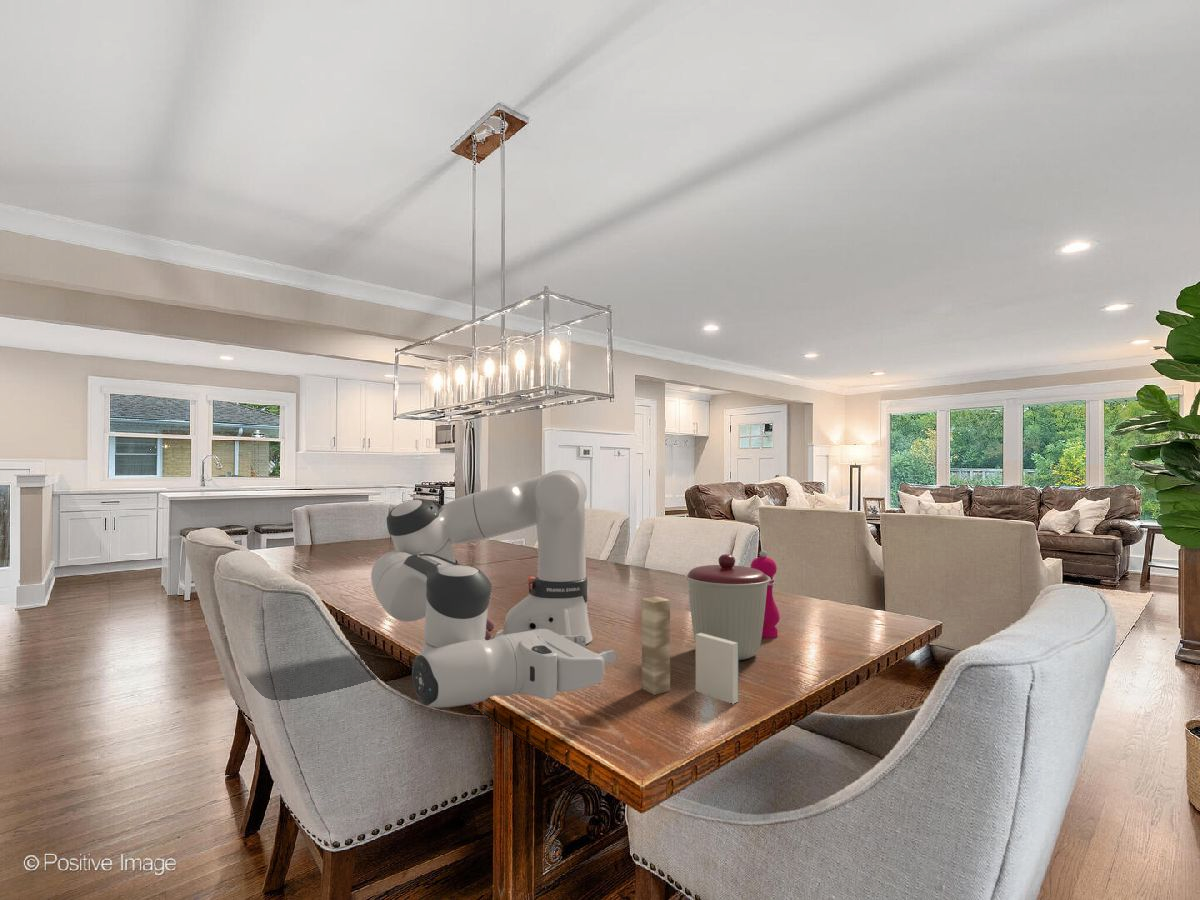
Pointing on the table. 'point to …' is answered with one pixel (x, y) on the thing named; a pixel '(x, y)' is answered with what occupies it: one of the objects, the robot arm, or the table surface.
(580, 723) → the table surface
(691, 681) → the table surface
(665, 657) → the block
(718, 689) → the tile
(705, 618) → the canister
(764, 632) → the pepper mill
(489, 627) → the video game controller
